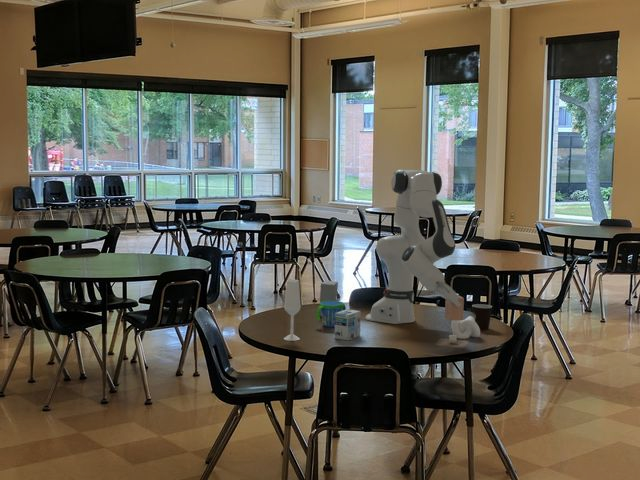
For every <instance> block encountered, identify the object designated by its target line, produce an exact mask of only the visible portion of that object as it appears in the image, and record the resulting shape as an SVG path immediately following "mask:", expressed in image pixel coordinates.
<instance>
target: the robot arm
mask: <svg viewBox="0 0 640 480" xmlns="http://www.w3.org/2000/svg"><path fill="white" fill-rule="evenodd" d="M390 180H391V181H390V184H391V189H392V191H393V192H394V193H396V194H397V197H396V201H395V202H396V203H395V210H394V216H393V221H394V224H395V225H396V226H398V227H399V228H400V231H401V232H400V234H397V235H388V236H384V237H381V238H379V239H378V240H377V242H376V245H375V250H376V253H377V256H378V257H379V258H380V259H381V260H382V261H383V262H384V264H385V266H386V269H387V272H388V273H387V274H388V287H386V288H385V289H384V291H383V297H382V298H380V299H379V300H378V301H376V302H375V303H373V305H372V307H371V308H370V309H371V311H370V313H368V314H367V315H366V316H365V320H366V321H371V322H372V321H373V322H378V323H379V322H380V323H384V324H385V323H386V324H394V325H398V324H409V323H414V322H416V319H415V317H416V316H415V312H414V299H415V298H414V297H415V292H414V289H413V287H414V277H416V278H417V279H418V281H419V283H420V284H421V285H422V286H423V287H424V288H425V290H427V291H428V292H432V293H434V294H435V295H437V296H439V297H441V298H443V299H445V300H448V301H450V302H452V303H454V304H455V305H456V306H457V307H460V306H461V304H460V302H459V301H458V299H459V296H460V295H459V294H458V293H457V292H456V291H455V290H454V289H453V288H452V287H451V286H450V285H449V284H447V283H446V280H445V274H444V273H442V271H440V269H439V268H438V267H437V266H435V265H434V263H436V262H437V261H440V260H442V259H444V258H446V257H449V256H452V255H453V254H454V253H455V249H456V240H455V239H454V236H453V234H452V232H451V227H450V224H449V220H448V216H447V212H446V209H445V206H444V204H443V202H441V201H440V200H439V199H438V198H437V196H438V195H439V194H440V192H441V189H442V187H443V180H442V176H441V175H440V174H439V173H438V172H435V171H426V170H421V169H420V170H419V169H415V170H414V169H397V170H395V171H394V172H393V174H392V176H391V179H390ZM420 217H421V218H425V219H426V218H432V220H433V223H434V228H435V232H434V234H433V235H432V236H430V237H428V238H425V237H424V236H423V235H422V233H421V230H420V226H419V225H420V224H419V222H420ZM458 295H459V296H458Z"/></svg>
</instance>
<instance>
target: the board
mask: <svg viewBox="0 0 640 480" xmlns="http://www.w3.org/2000/svg"><path fill="white" fill-rule="evenodd" d="M470 343H471V342H470V340H463V339H462V340H461V339H457V343H456V344H451V343H449V338H440V339H439V340H438V341H437V342H436V343H435V346H443V347H454V348H461V349H462V348H463V349H465V348H467V346H468V345H469V344H470Z"/></svg>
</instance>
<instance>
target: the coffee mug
mask: <svg viewBox="0 0 640 480" xmlns="http://www.w3.org/2000/svg"><path fill="white" fill-rule="evenodd" d="M471 308H472V317H473V318H474V319H475V322H476V323H477V325H478V326H479V328H480V331H488V330H489V329H490V324H491V323H490V321H491V317H492V310H493V305H490V304H481V303H480V304H479V303H477V304H472V305H471Z"/></svg>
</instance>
